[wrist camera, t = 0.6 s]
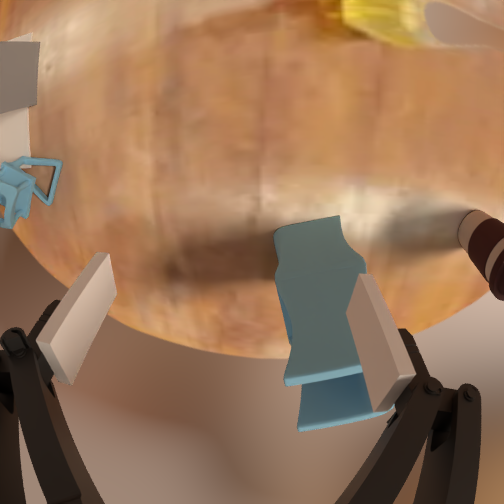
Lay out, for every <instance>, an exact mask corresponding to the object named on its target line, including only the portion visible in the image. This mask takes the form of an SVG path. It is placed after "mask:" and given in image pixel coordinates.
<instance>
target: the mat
mask: <svg viewBox="0 0 504 504" xmlns="http://www.w3.org/2000/svg"><path fill="white" fill-rule="evenodd" d="M32 37H33V33H28V34H25V35H22V36H19V37H17V38H14V39H11V40H8V41H24V42H32ZM22 156H26V157H31V152H30V138H29V107H25V108H21V109H17V110H13V111H10V112H6V113H3V114H0V168H1V163H2V162H4V161H6V162H13V161H16V160H17V159H19V158H20V157H22ZM20 168H32V165H26V164H23V165H21V166H20Z"/></svg>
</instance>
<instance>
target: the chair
mask: <svg viewBox="0 0 504 504" xmlns="http://www.w3.org/2000/svg"><path fill="white" fill-rule="evenodd" d="M23 164H26V165H47V166H56V170H55V174H54V178H53V181H52V185H51V189H50V193H49V197H47V196H46V195H45V194H44V193H43V192H42V191H41V190H40V188H39V187H38V186H37V185H36V184H35V181H36V178H35V177H33V176H31V175H30V174H27V173H25V172H24V171H23V170H22V169H21V168H20V166H21V165H23ZM62 164H63V163H62V161H60V160H56V159H46V158H32V157H26V156H22V157H20V158H19V159H17V160H16V161H13V162H6V161H4V162H2V163H1V168H0V204H1V205H3V206H5V213H4V219H3V218H0V227H2V228H8V229H12V228H13V226H14V225H15V223H16V221H17V219H18V218H19V217H20V216H21V217H23V218H25V219H26V218H28V217H29V212H30V204H31V198H32V193H33V192H34V193H35V194H36V195H37V196H38V197H39V198H40V199H41V200H42V201H43V202H44V203H45V204H46V205H48V206H50V205H51V204H52V203H53V199H54V195H55V191H56V187H57V183H58V179H59V175H60V171H61V168H62ZM15 213H16V214H15Z"/></svg>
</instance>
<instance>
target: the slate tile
mask: <svg viewBox="0 0 504 504" xmlns="http://www.w3.org/2000/svg"><path fill="white" fill-rule="evenodd" d="M39 49H40V42H24V41H2V42H0V114H3V113H6V112H10V111H13V110H17V109H21V108H25V107H29V106H33V105H37V77H38V61H39Z"/></svg>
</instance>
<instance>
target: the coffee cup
mask: <svg viewBox="0 0 504 504" xmlns="http://www.w3.org/2000/svg"><path fill="white" fill-rule="evenodd" d="M458 239H459V242H460V244H461V246H462V247H463V248H464V250H465V251H466V252H467V253H468V255H469V258H470V259H471V261H472V262H473V263H474V265H475V266H476V267H477V269H478V270H479V271H480V273H481V274H482V275H483V277H484V278H485V280H486V281H487V282H488V283H489V288H490V290H491V292H492V293H493V294H494V296H495V297H496V298H497V299H499V300H502V301H504V223H502V222H501V221H499V220H498V219H495V218H492V217H491V216H489V215H488V214H486V213H485V212H483V211H478V210H477V211H473V212H471V213H469V214H468V215H467V216H466V217H465V218H464V219H463V221H462V223H461V225H460V227H459V231H458Z"/></svg>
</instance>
